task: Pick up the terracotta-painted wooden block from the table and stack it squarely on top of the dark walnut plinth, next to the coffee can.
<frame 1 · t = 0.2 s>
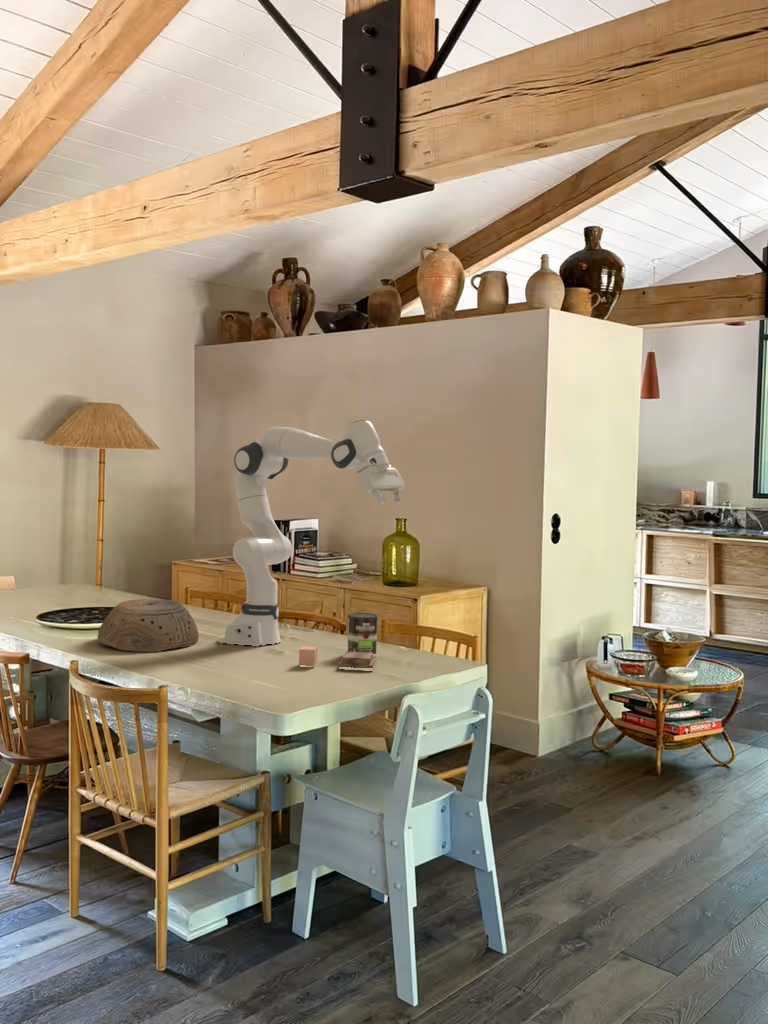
hand: (390, 502, 302), 54 cm above the table, tool tilted 30°, fingers open, 8 cm apart
plinth: (357, 667, 301), on the table
block: (308, 666, 301), on the table
ceramic artifact: (148, 643, 332), on the table
coffee can: (361, 655, 319), on the table
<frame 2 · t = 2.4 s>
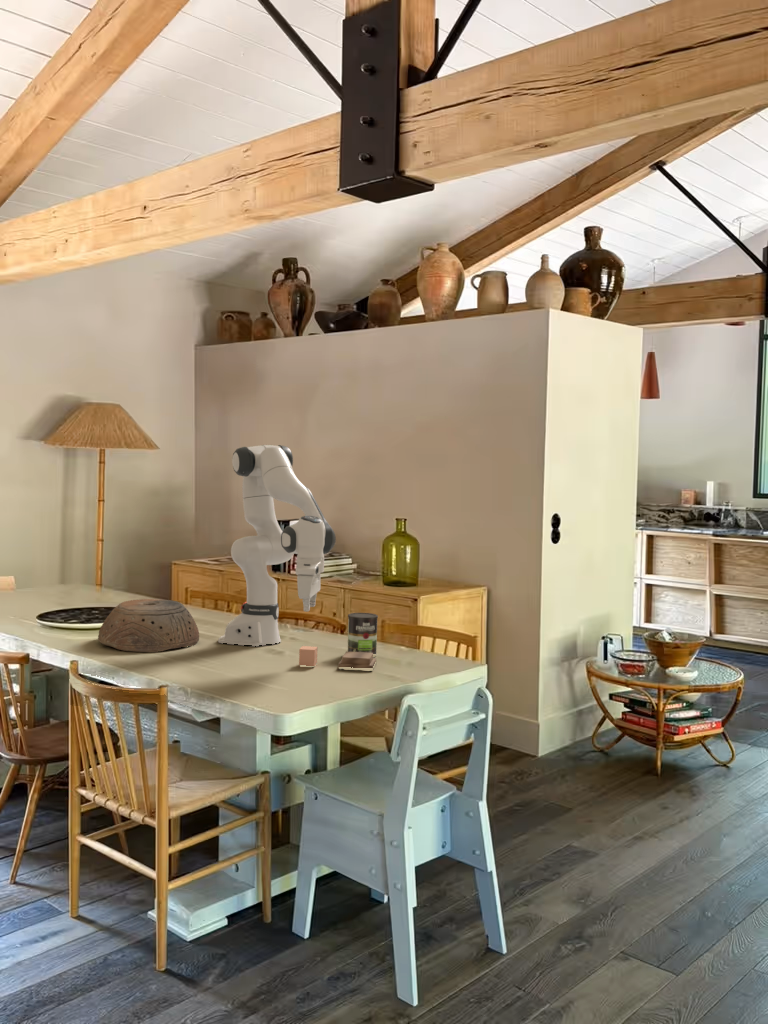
hand: (309, 608, 300), 19 cm above the table, tool pointing down, fingers open, 8 cm apart
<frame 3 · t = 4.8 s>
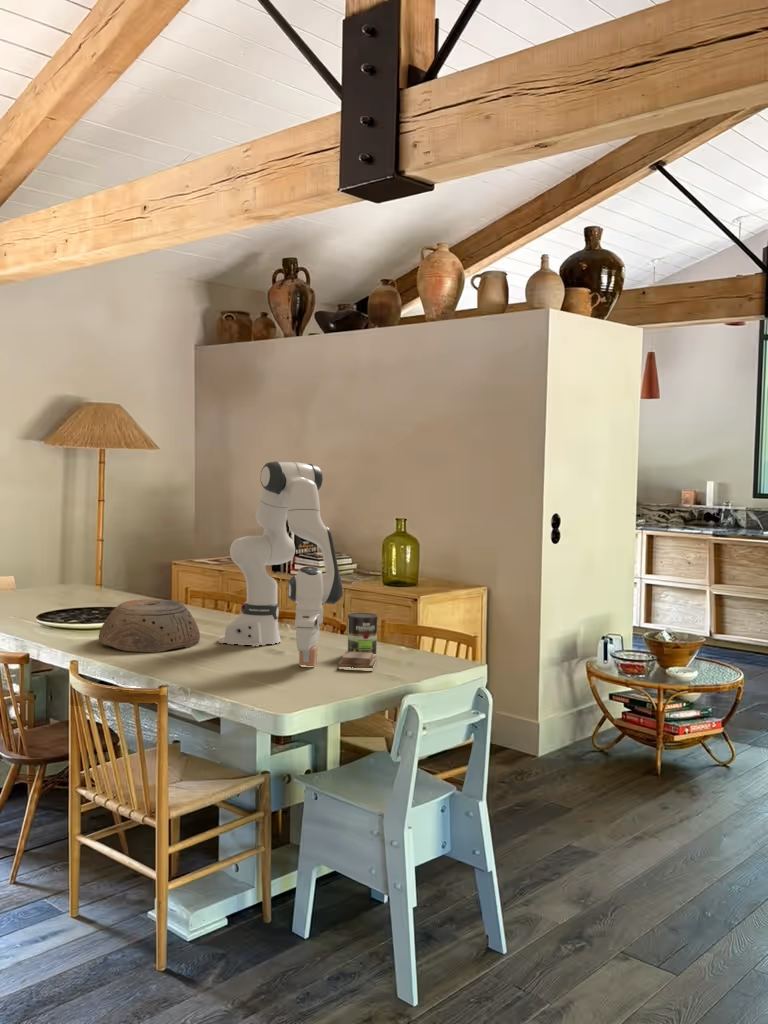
hand: (308, 659, 301), 2 cm above the table, tool pointing down, fingers closed on block, 5 cm apart
block: (308, 665, 301), on the table, touching gripper
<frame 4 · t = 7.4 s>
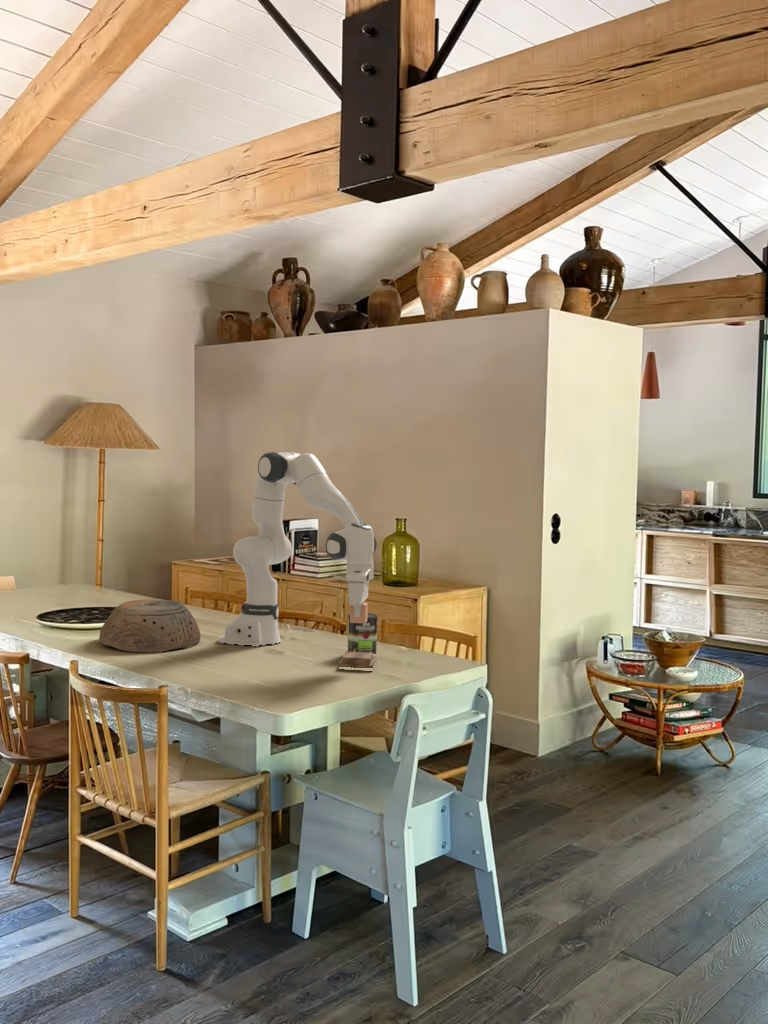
hand: (358, 615, 300), 17 cm above the table, tool pointing down, fingers closed on block, 5 cm apart
block: (358, 621, 300), point 15 cm above the table, touching gripper
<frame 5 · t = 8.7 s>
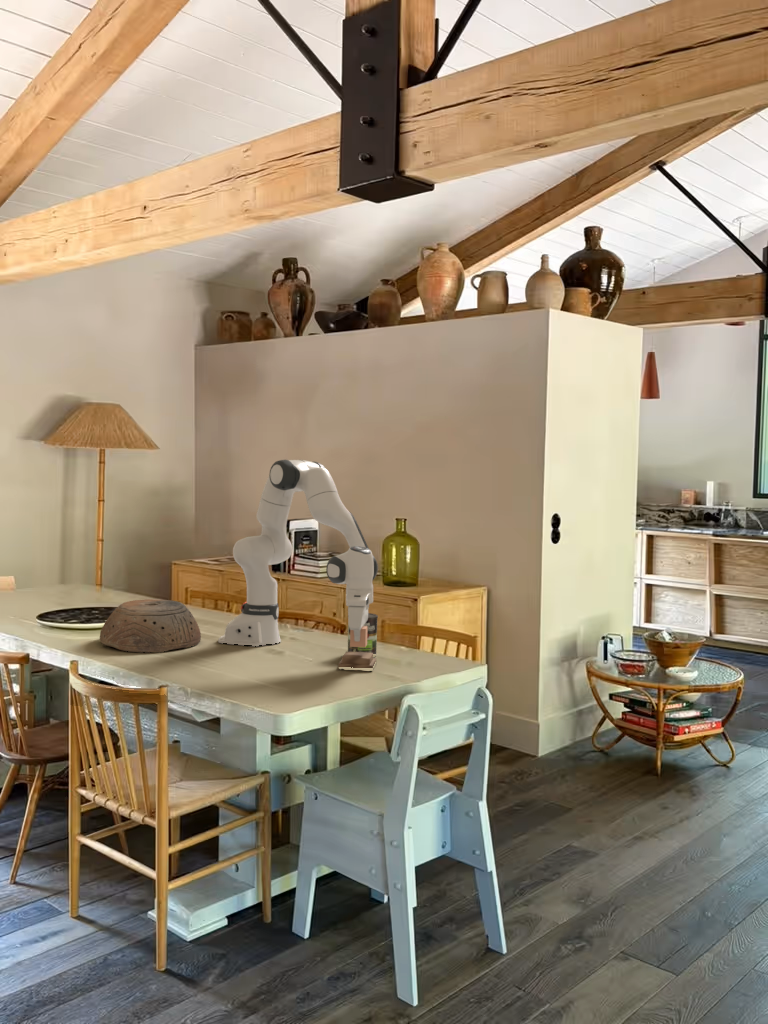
hand: (358, 639, 301), 9 cm above the table, tool pointing down, fingers closed on block, 5 cm apart
block: (358, 645, 301), point 7 cm above the table, touching gripper
when the fingers open (7 cm above the table, at t = 10.0 s): block stays where it is, resting on plinth.
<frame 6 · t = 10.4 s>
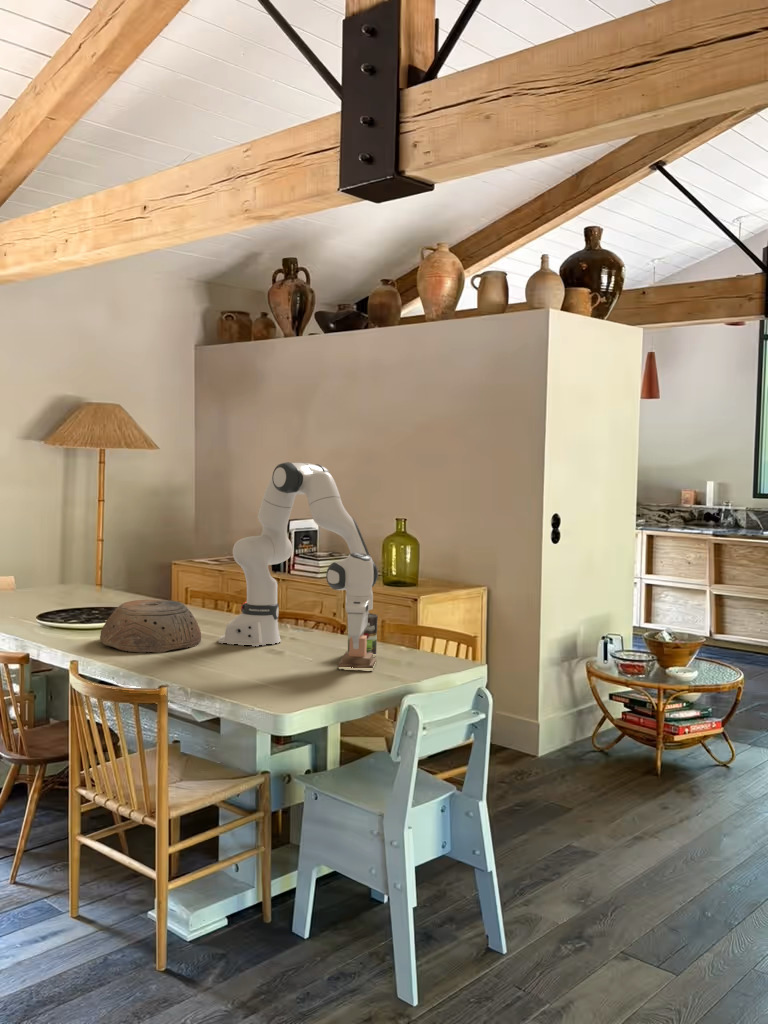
hand: (358, 645, 301), 7 cm above the table, tool pointing down, fingers open, 8 cm apart
block: (357, 654, 301), point 4 cm above the table, touching plinth
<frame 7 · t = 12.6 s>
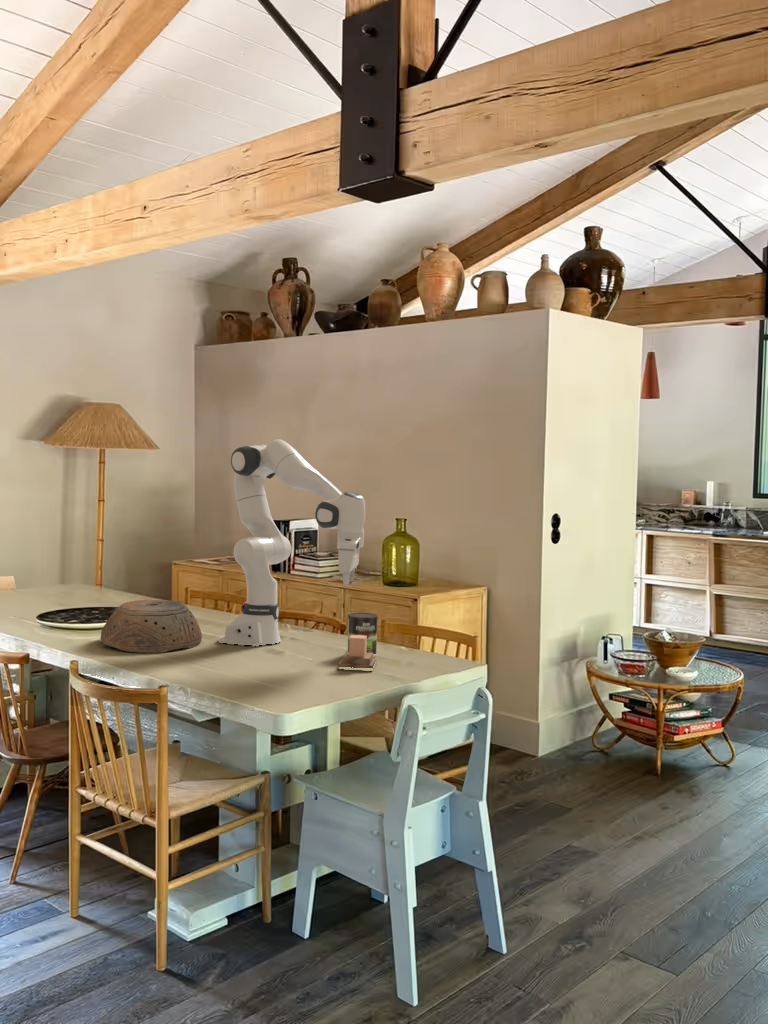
hand: (348, 582, 310), 26 cm above the table, tool pointing down, fingers open, 8 cm apart
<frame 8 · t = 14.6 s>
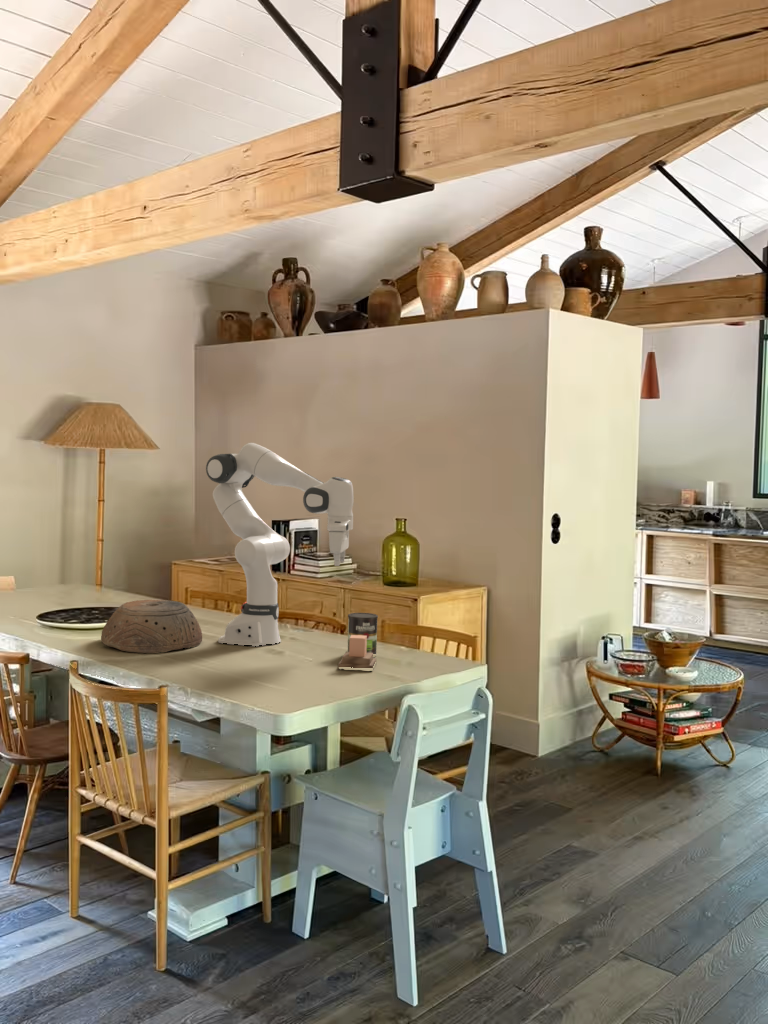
hand: (339, 564, 320), 31 cm above the table, tool pointing down, fingers open, 8 cm apart
at the end: block 0.0 cm off-centre on the plinth, point 4.0 cm above the plinth's base; block tilted 0°; the gripper is holding nothing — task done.
